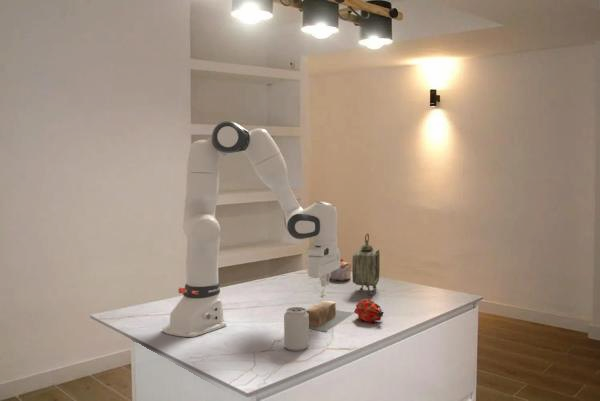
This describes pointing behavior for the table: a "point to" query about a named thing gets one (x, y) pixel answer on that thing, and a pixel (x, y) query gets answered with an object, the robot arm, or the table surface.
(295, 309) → the can
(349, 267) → the food item
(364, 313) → the dragon fruit
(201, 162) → the robot arm
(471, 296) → the table surface
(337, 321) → the rubber mat
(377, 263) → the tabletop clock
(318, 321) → the light brown wooden block
